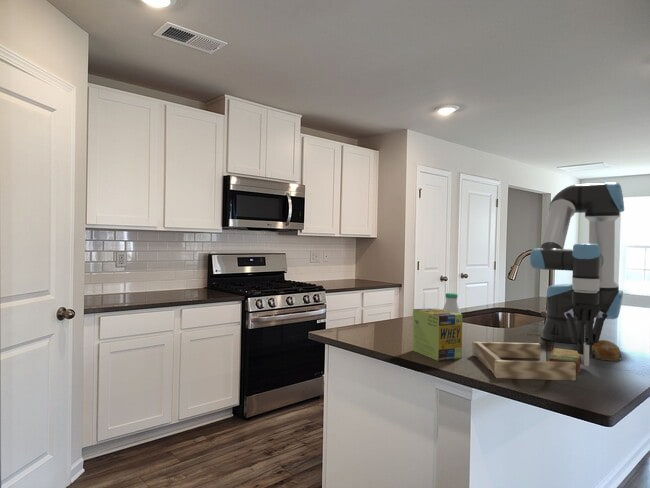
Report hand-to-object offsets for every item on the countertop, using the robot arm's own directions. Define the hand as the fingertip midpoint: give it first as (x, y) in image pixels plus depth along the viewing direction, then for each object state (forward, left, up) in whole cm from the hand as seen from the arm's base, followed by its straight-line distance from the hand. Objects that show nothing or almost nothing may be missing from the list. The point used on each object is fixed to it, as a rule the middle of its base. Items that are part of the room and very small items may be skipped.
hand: (584, 364), depth 138 cm
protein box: (+45, -13, -2) cm, 46 cm away
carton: (+5, -3, -2) cm, 6 cm away
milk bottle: (+36, -30, -2) cm, 47 cm away
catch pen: (+21, 0, -2) cm, 21 cm away
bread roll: (-15, -15, -2) cm, 21 cm away
